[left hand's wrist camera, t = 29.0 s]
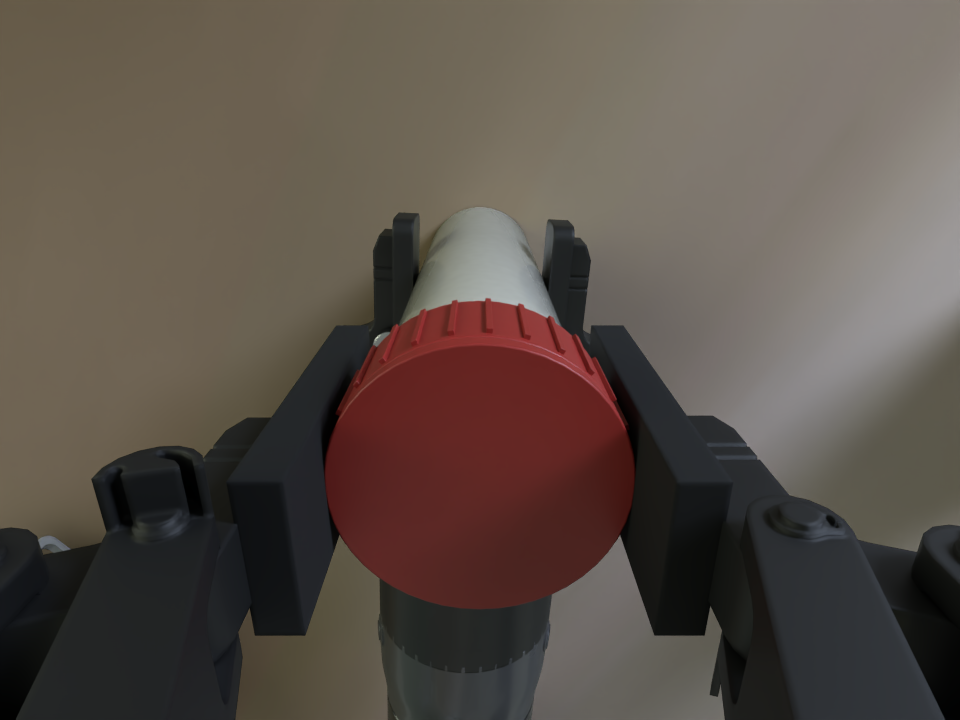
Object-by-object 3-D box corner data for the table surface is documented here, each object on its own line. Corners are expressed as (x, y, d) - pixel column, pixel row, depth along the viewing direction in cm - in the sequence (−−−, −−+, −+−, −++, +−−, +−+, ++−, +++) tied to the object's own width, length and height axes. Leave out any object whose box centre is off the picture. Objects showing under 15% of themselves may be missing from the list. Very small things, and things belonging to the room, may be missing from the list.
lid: (653, 464, 13) (691, 538, 10) (436, 566, 14) (428, 653, 11) (534, 243, 11) (548, 275, 9) (295, 378, 12) (251, 438, 10)
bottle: (442, 314, 28) (392, 572, 12) (419, 218, 27) (324, 367, 10) (537, 295, 28) (616, 534, 12) (520, 197, 26) (584, 317, 10)
